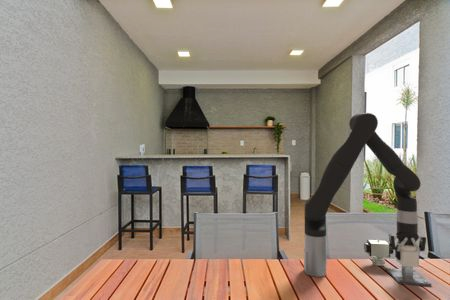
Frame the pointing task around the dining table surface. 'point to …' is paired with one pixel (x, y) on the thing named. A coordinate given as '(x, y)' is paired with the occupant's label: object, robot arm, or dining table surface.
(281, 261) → the dining table surface
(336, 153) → the robot arm
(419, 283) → the shaft mount
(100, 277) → the dining table surface
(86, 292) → the dining table surface
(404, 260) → the knob
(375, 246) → the pneumatic valve
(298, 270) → the dining table surface
